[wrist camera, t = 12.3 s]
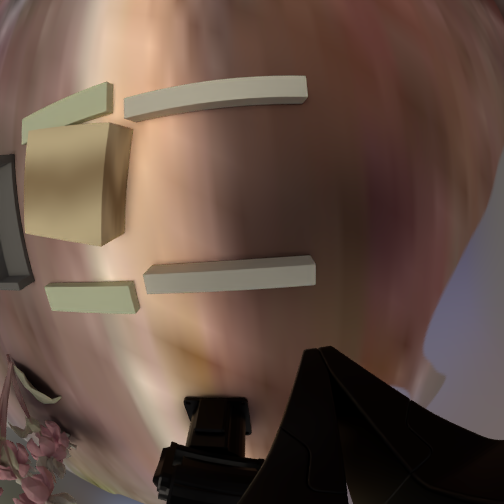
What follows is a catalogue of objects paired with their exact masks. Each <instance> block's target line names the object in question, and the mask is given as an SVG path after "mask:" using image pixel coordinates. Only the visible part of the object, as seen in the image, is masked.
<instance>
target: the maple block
mask: <svg viewBox="0 0 504 504" xmlns="http://www.w3.org/2000/svg"><path fill="white" fill-rule="evenodd" d="M132 134H133V129H131V128H128V127H124V126H121V125H117V124H113V123H92V124H79V125H69V126H59V127H51V128H44V129H37V130H31V131H29V132H28V140H27V149H26V160H25V176H24V220H25V233H26V234H32V235H37V236H43V237H48V238H54V239H60V240H65V241H71V242H77V243H83V244H89V245H95V246H103V245H105V244H106V243H108V242H110V241H112V240H113V239H115V238H117V237H119V236H120V235H122V234H124V230H125V204H126V189H127V176H128V166H129V157H130V149H131V141H132Z"/></svg>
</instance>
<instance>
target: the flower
mask: <svg viewBox="0 0 504 504" xmlns="http://www.w3.org/2000/svg"><path fill="white" fill-rule="evenodd" d="M7 360H8V364H9V366H8V371H7V376H6V379H5V382H4V386H3V390H2V394H1V398H0V480H15V479H16V482H17V483H18V484H21V485H22V489H23V490H24V492H25V493H22V494H20V495H19V497H20V500H18V499H16V498H13V500H14V502H15V504H77V503H76V500H75V499H74V498H73V497H71V496H70V495H69V494H68V493H60V494H56V495H51V493H52V491H53V488H54V484H53V480H54V482H55V483H56V480H55V475H54V473H56V474H57V475H58V476H59V477H60V478H61V479H62V478H63V477H64V473H65V474H66V471H65V465H64V464H63V463H62V462H63V459H64V458H69V457H71V455H70V454H69V451H68V449H70V447H72V448H74V449H76V447H77V445H74V444H72V443H70V441H69V439H68V437H69V436H70V435H69V434H67V433H65V432H63V433H61V431H60V427H59V426H58V425H57V424H56V423H55V422H53V421H48V420H45V424H46V426H47V428H48V429H47V428H45V427H44V426H42V425H39V422H38V421H37V420H35V419H33V418H32V417H31V416H30V415H29V412H28V410H27V407H26V405H25V402H24V400H23V397H22V394H21V392H20V389H19V386H18V383H17V380H16V377H15V373H16V375H17V376H18V378H19V380H20V381H21V383H22V384H23V386H24V387H25V388H27V389H28V390H29V391H30V392H31V393H32V395H33V396H34V397H35V398H36V399H37V400H38V401H40V402H42V403H44V404H50V403H56V402H57V401H58V400H59V399H61V398H62V397H61V396H60V397H57V398H54V399H51V398H49V397H48V396H46V395H44V394H42V393H40V392H39V391H38V390H37V389H35V388H34V387H33V385H32V384H31V383H30V382H29V381H28V380H27V378H26V376H25V374H24V373H23V372H22V371H20V370H19V369H18V368H17V367H16V366H15V365H14V364H13V362H11V360H10V356H9V354H7ZM13 369H14V370H13ZM14 371H15V373H14ZM11 378H12V382H13V386H14V389H15V393H16V396H17V398H18V400H19V402H20V404H21V407H22V408H23V410H24V412H25V414H26V416H27V418H28V419H27V418H26V416H25V418H26V427H25V430H23V429H21V428H19V427H17V426H12V425H11V424H10V423H9V422H8V423H9V425H10V426H11V428H12V429H13V430H14V432H15V433H16V434H17V435H18V436H20V437H21V438H26V437H27V435H28V434H32V432H35V433H36V436H37V437H38V438H39V447H38V446H37V445H36V444H35V443H34V441H33V440H32V438H31V439H30V440H29V441H28V443H27V449H28V450H29V451H30V452H31V455H32V456H33V458H34V459H35V460H38V461H37V462H36V465H37V466H36V468H37V470H38V471H39V472H40V473H41V474H37V475H33V474H31V473H30V472H29V471H28V470H31V471H33V472H37V471H36V470H35V469H34V468H33V467H31V466H30V465H29V464H32V463H31V461H30V460H29V459H28V456H29V454H28V453H27V451H26V449H25V447H24V446H23V445H21V444H20V443H16V444H17V447H18V451H17V448H16V446H15V445H14V443H13V442H11V441H9V440H6V421H7V408H8V398H9V391H10V384H11ZM1 419H2V421H1ZM60 433H61V434H60ZM66 448H67V449H66ZM70 450H71V449H70ZM48 468H49V470H48ZM53 472H54V473H53ZM63 472H64V473H63ZM31 476H32V477H31ZM52 476H53V478H52ZM2 492H3V489H2V488H1V487H0V496H1V494H2Z"/></svg>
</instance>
